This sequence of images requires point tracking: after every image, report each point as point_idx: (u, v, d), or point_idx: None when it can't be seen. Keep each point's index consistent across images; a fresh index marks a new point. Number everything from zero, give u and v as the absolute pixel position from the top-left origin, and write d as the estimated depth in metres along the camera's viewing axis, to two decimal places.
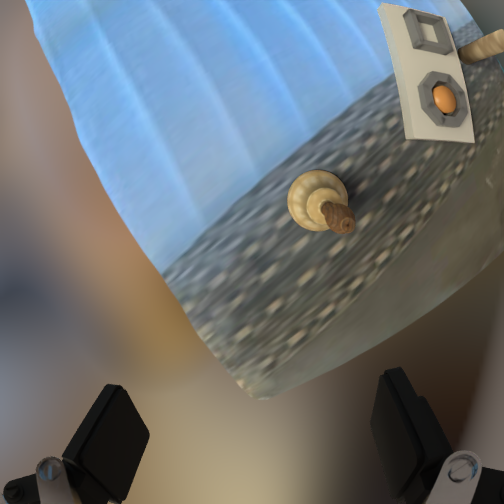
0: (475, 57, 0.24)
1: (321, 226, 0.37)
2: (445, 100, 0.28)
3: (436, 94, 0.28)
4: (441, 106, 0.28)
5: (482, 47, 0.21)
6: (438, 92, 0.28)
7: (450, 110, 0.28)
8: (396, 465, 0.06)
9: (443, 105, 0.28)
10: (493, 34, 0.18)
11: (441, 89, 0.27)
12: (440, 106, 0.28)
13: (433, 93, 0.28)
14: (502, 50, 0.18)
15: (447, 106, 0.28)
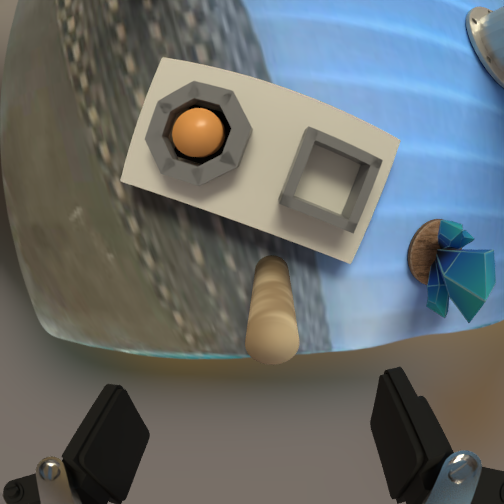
0: (259, 274, 0.24)
1: None
2: (193, 129, 0.21)
3: (208, 114, 0.20)
4: (186, 114, 0.20)
5: (271, 284, 0.21)
6: (210, 120, 0.20)
7: (175, 134, 0.21)
8: (396, 465, 0.06)
9: (186, 120, 0.20)
10: (291, 316, 0.17)
11: (214, 130, 0.20)
12: (187, 113, 0.20)
13: (213, 113, 0.20)
14: (249, 319, 0.18)
15: (183, 129, 0.21)
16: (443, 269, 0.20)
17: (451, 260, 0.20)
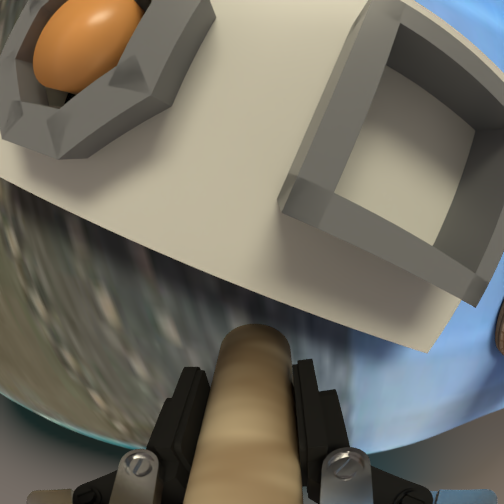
0: (220, 390, 0.09)
1: None
2: (72, 29, 0.05)
3: None
4: (68, 4, 0.05)
5: (243, 461, 0.06)
6: (110, 1, 0.05)
7: (39, 49, 0.05)
8: None
9: (64, 15, 0.05)
10: None
11: (112, 19, 0.05)
12: (69, 2, 0.05)
13: None
14: None
15: (53, 34, 0.05)
16: None
17: None
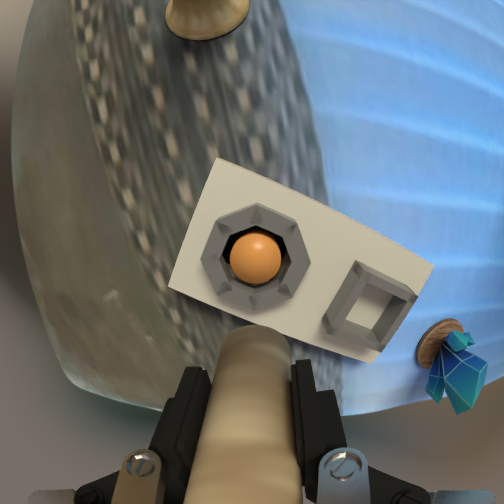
0: (220, 391, 0.09)
1: None
2: (253, 257, 0.22)
3: (269, 243, 0.22)
4: (246, 240, 0.22)
5: (243, 462, 0.06)
6: (271, 250, 0.22)
7: (233, 259, 0.22)
8: None
9: (246, 246, 0.22)
10: None
11: (274, 261, 0.22)
12: (246, 238, 0.22)
13: (273, 240, 0.22)
14: None
15: (241, 254, 0.22)
16: (444, 371, 0.23)
17: (452, 365, 0.22)
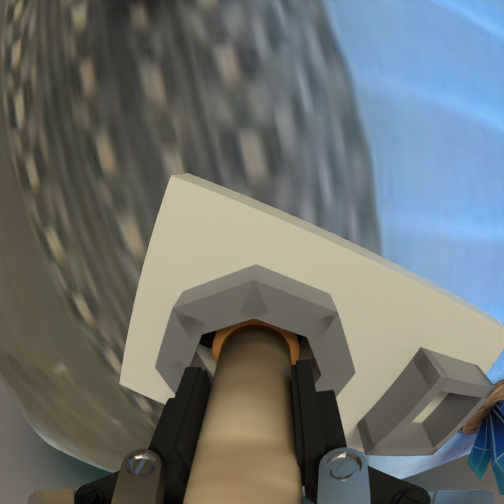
0: (219, 390, 0.09)
1: None
2: None
3: (280, 329, 0.12)
4: (238, 324, 0.12)
5: (243, 461, 0.06)
6: None
7: (218, 351, 0.13)
8: None
9: None
10: None
11: None
12: None
13: None
14: None
15: None
16: (496, 451, 0.12)
17: None
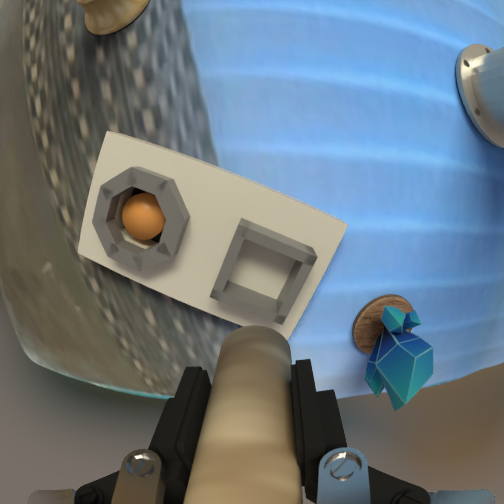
0: (220, 391, 0.09)
1: None
2: (140, 214, 0.23)
3: (152, 201, 0.22)
4: (133, 199, 0.22)
5: (243, 462, 0.06)
6: (154, 207, 0.23)
7: (124, 217, 0.23)
8: None
9: (133, 205, 0.23)
10: None
11: (157, 217, 0.23)
12: (133, 198, 0.22)
13: None
14: None
15: (131, 213, 0.23)
16: (378, 356, 0.22)
17: (387, 349, 0.21)
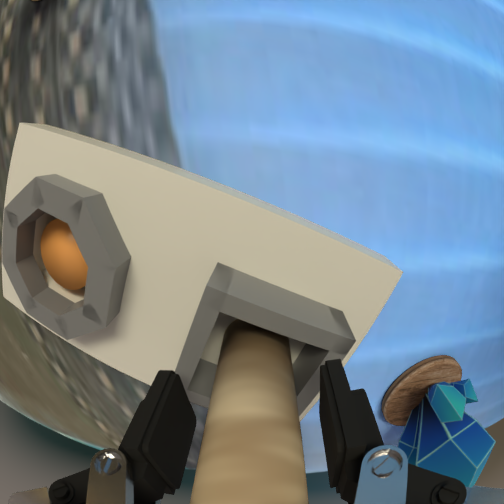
0: (225, 373, 0.09)
1: None
2: (61, 251, 0.13)
3: None
4: (51, 226, 0.12)
5: (250, 435, 0.06)
6: None
7: (44, 254, 0.13)
8: (330, 453, 0.07)
9: (52, 236, 0.12)
10: None
11: None
12: (51, 224, 0.12)
13: None
14: None
15: (50, 248, 0.13)
16: (419, 450, 0.12)
17: (434, 442, 0.11)
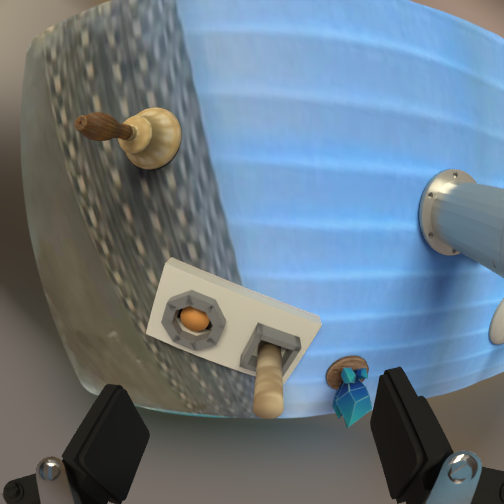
0: (261, 356, 0.34)
1: None
2: (193, 317, 0.37)
3: None
4: (188, 308, 0.37)
5: (269, 369, 0.31)
6: (202, 314, 0.37)
7: (182, 317, 0.37)
8: (396, 465, 0.06)
9: (188, 311, 0.37)
10: (279, 393, 0.28)
11: (205, 319, 0.37)
12: (188, 307, 0.37)
13: None
14: (255, 394, 0.28)
15: (186, 315, 0.37)
16: (338, 396, 0.36)
17: (343, 392, 0.36)
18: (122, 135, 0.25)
